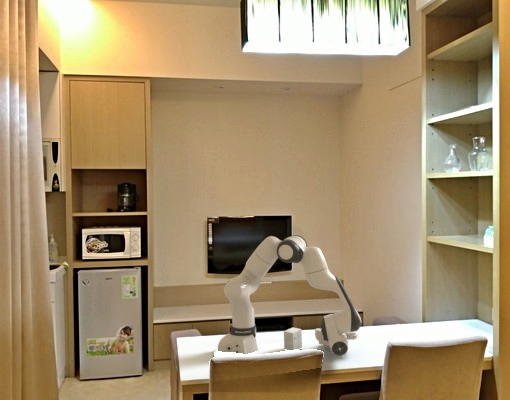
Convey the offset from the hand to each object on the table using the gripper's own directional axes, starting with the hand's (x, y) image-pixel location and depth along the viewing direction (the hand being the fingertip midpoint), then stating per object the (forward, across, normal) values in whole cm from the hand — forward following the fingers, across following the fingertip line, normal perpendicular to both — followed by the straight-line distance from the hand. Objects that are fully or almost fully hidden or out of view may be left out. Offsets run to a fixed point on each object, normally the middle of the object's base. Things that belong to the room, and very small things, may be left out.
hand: (334, 328), depth 234 cm
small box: (-6, +21, +9) cm, 24 cm away
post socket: (-1, 0, +9) cm, 9 cm away
